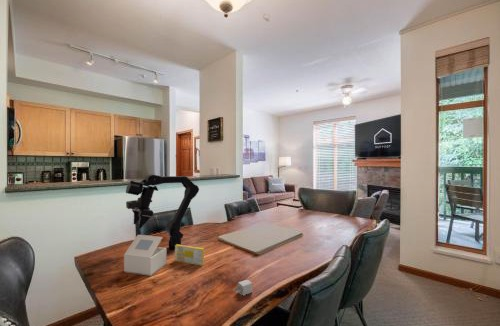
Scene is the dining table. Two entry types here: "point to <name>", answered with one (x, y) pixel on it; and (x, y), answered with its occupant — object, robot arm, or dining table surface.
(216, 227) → the dining table surface
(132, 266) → the carton
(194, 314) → the dining table surface
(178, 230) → the robot arm
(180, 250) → the candy box
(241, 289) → the usb wall charger
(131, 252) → the carton flap
